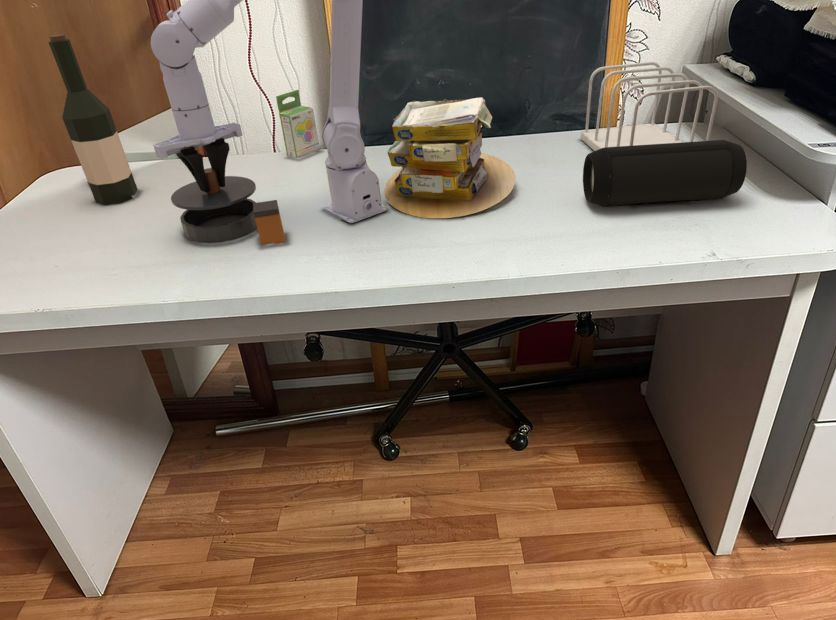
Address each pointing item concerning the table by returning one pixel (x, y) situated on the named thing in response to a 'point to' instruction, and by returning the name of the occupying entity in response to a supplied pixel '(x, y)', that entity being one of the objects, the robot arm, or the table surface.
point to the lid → (213, 192)
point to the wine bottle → (92, 132)
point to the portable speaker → (663, 173)
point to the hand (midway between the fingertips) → (212, 188)
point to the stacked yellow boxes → (445, 161)
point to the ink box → (297, 126)
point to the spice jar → (268, 222)
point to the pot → (221, 231)
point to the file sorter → (643, 132)
